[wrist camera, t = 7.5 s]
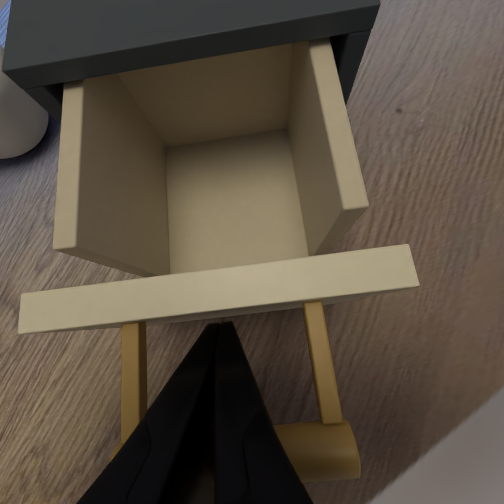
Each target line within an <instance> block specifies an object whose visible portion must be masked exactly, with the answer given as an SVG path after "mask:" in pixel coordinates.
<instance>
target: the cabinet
mask: <svg viewBox="0 0 504 504" xmlns="http://www.w3.org/2000/svg"><path fill="white" fill-rule="evenodd" d="M380 4H381V3H380V0H11V7H10V14H9V21H8V28H7V35H6V42H5V49H4V56H3V63H2V72H3V73H4V74H6V75H7V76H8V77H9V78H10V79H11V80H12V81H13V82H14V83H16V84H17V85H18V86H19V87H20V88H21V89H24V91H25V92H26V93H27V94H28V95H29V96H30V97H31V98H32V99H34V100H35V101H36V102H37V103H38V104H39V105H40V106H41V107H42V108H44V109H45V110H46V111H47V112H48V113H49V114H50V115H51V116H52V117H54V118H55V119H56V120H57V121H58V122H59V123H60V124H61V119H62V105H63V91H64V82H69V81H75V80H80V79H86V78H92V77H98V76H104V75H109V74H115V73H121V72H127V71H133V70H138V69H144V68H150V67H156V66H162V65H168V64H173V63H179V62H185V61H191V60H197V59H202V58H208V57H214V56H220V55H226V54H232V53H237V52H243V51H249V50H255V49H261V48H266V47H272V46H278V45H284V44H290V43H296V42H301V41H307V40H313V39H319V38H325V37H329V39H330V43H331V47H332V52H333V56H334V60H335V64H336V68H337V73H338V77H339V81H340V85H341V89H342V94H343V98H344V102H345V106H346V104H347V101H348V98H349V95H350V92H351V89H352V86H353V83H354V80H355V77H356V74H357V71H358V68H359V65H360V62H361V59H362V56H363V54H364V51H365V48H366V45H367V42H368V39H369V36H370V33H371V29H372V28H373V25H374V22H375V19H376V16H377V13H378V10H379V7H380Z"/></svg>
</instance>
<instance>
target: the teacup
mask: <svg viewBox="0 0 504 504" xmlns="http://www.w3.org/2000/svg"><path fill="white" fill-rule="evenodd" d="M3 56H4V48H3V47H2V46H1V45H0V159H5V158H12V157H16V156H19V155H22V154H24V153H26V152H28V151H29V150H31V149H32V148H34V147H35V146H36V145H37V144H38V143H39V142H40V141H41V139H42V138H43V136H44V134H45V132H46V129H47V126H48V112H47V111H46V110H45V109H44V108H42V107H41V106H40V105H39V104H38V103H37V102H36V101H35V100H34V99H32V98H31V97H30V96H29V95H28V94H27V93H26V92H25V91H24V89H21V88H20V87H19V86H18V85H17V84H16V83H14V82H13V81H12V80H11V79H10V78H9V77H8V76H7V75H6V74H4V73H3V72H2V63H3Z"/></svg>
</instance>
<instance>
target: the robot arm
mask: <svg viewBox="0 0 504 504" xmlns="http://www.w3.org/2000/svg"><path fill="white" fill-rule="evenodd" d="M76 504H313V502H312V500H311V498H310V497H309V495H308V493H307V491H306V489H305V487H304V485H303V484H302V482H301V480H300V478H299V476H298V474H297V473H296V471H295V469H294V467H293V465H292V463H291V461H290V460H289V458H288V456H287V454H286V452H285V450H284V448H283V446H282V444H281V442H280V440H279V438H278V436H277V434H276V431H275V429H274V426H273V424H272V422H271V419H270V417H269V414H268V412H267V409H266V407H265V405H264V402H263V399H262V396H261V394H260V391H259V389H258V386H257V383H256V381H255V378H254V376H253V373H252V370H251V368H250V365H249V363H248V360H247V357H246V355H245V352H244V350H243V347H242V344H241V342H240V339H239V337H238V334H237V331H236V329H235V326H234V324H233V322H232V321H226V322H221V324H220V323H210V324H208V325H207V326H206V327H205V329H204V330H203V332H202V333H201V335H200V336H199V338H198V339H197V340H196V342H195V343H194V345H193V346H192V348H191V349H190V350H189V352H188V353H187V355H186V356H185V358H184V359H183V361H182V362H181V363H180V365H179V366H178V368H177V369H176V371H175V372H174V373H173V375H172V376H171V378H170V379H169V381H168V382H167V383H166V385H165V386H164V388H163V389H162V391H161V392H160V394H159V395H158V396H157V398H156V399H155V401H154V402H153V404H152V405H151V406H150V408H149V409H148V411H147V412H146V414H145V415H144V418H142V419H141V421H140V422H139V424H138V425H137V426H136V428H135V429H134V431H133V432H132V433H131V435H130V436H129V438H128V439H127V440H126V442H125V443H124V444H123V446H122V447H121V449H120V450H119V451H118V453H117V454H116V455H115V456H114V458H113V459H112V460H111V461H110V463H109V464H108V465H107V466H106V468H105V469H104V470H103V472H102V473H101V474H100V475H99V476H98V478H97V479H96V480H95V481H94V483H93V484H92V485H91V486H90V487H89V489H88V490H87V491H86V492H85V494H84V495H83V496H82V497H81V498H80V500H79V501H78V502H77V503H76Z"/></svg>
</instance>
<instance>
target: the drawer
mask: <svg viewBox="0 0 504 504" xmlns="http://www.w3.org/2000/svg"><path fill="white" fill-rule="evenodd" d="M368 207H369V203H368V198H367V194H366V190H365V186H364V182H363V177H362V173H361V169H360V165H359V161H358V156H357V152H356V148H355V144H354V140H353V135H352V131H351V127H350V123H349V119H348V114H347V110H346V106H345V102H344V98H343V94H342V89H341V85H340V81H339V77H338V73H337V68H336V64H335V60H334V56H333V52H332V47H331V43H330V39H329V37H325V38H319V39H313V40H307V41H301V42H296V43H290V44H284V45H278V46H272V47H266V48H261V49H255V50H249V51H243V52H237V53H232V54H226V55H220V56H214V57H208V58H202V59H197V60H191V61H185V62H179V63H173V64H168V65H162V66H156V67H150V68H144V69H138V70H133V71H127V72H121V73H115V74H109V75H104V76H98V77H92V78H86V79H80V80H75V81H69V82H64V91H63V105H62V119H61V133H60V148H59V162H58V176H57V190H56V204H55V219H54V233H53V247H52V248H53V250H56V251H59V252H62V253H66V254H69V255H72V256H76V257H79V258H82V259H85V260H89V261H92V262H95V263H99V264H102V265H105V266H109V267H112V268H115V269H119V270H122V271H125V272H129V273H132V274H135V275H138V276H142V277H145V278H138V279H130V280H122V281H114V282H107V283H99V284H91V285H83V286H75V287H68V288H60V289H52V290H44V291H37V292H29V293H23V294H22V295H21V303H20V314H19V324H18V334H34V333H49V332H63V331H77V330H92V329H106V328H121V327H122V334H121V442H120V443H119V444H118V445H117V446H116V448H115V449H114V451H113V453H112V456H111V458H110V461H111V460H112V459H113V458H114V456H115V455H116V454H117V453H118V451H119V450H120V449H121V447H122V446H123V444H124V443H125V442H126V440H127V439H128V438H129V436H130V435H131V433H132V432H133V431H134V429H135V428H136V426H137V425H138V424H139V422H140V421H141V419H142V418H144V415H145V414H146V412H147V352H146V326H149V325H160V324H169V323H177V322H186V321H194V320H203V319H211V318H219V317H228V316H236V315H245V314H253V313H261V312H270V311H278V310H287V309H295V308H302V309H303V315H304V322H305V328H306V334H307V341H308V347H309V354H310V360H311V366H312V373H313V379H314V385H315V392H316V398H317V405H318V411H319V417H320V419H321V421H311V422H301V423H290V424H280V425H273V426H274V429H275V431H276V434H277V436H278V438H279V440H280V442H281V444H282V446H283V448H284V450H285V452H286V454H287V456H288V458H289V460H290V461H291V463H292V465H293V467H294V469H295V471H296V473H297V474H298V476H299V478H300V480H301V482H302V483H311V482H323V481H335V480H347V479H358V478H359V477H360V476H361V463H360V457H359V452H358V447H357V444H356V440H355V437H354V434H353V431H352V428H351V426H350V424H349V422H348V421H347V420H346V419H344V418H342V412H341V407H340V401H339V395H338V390H337V384H336V378H335V373H334V367H333V361H332V355H331V350H330V344H329V338H328V333H327V327H326V321H325V316H324V310H323V305H329V304H337V303H343V302H347V301H352V300H357V299H362V298H366V297H371V296H376V295H381V294H385V293H390V292H395V291H400V290H404V289H409V288H414V287H418V286H419V281H418V277H417V274H416V270H415V266H414V262H413V259H412V255H411V251H410V247H409V245H408V244H401V245H394V246H386V247H378V248H370V249H363V250H355V251H347V252H339V253H332V254H329V253H330V251H331V250H332V249H333V248H334V247H335V246H336V244H337V243H338V242H339V241H340V240H341V239H342V237H343V236H344V235H345V234H346V233H347V231H348V230H349V229H350V228H351V227H352V226H353V224H354V223H355V222H356V221H357V220H358V219H359V217H360V216H361V215H362V214H363V213H364V211H365V210H366V209H367V208H368ZM109 463H110V462H109Z"/></svg>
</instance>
